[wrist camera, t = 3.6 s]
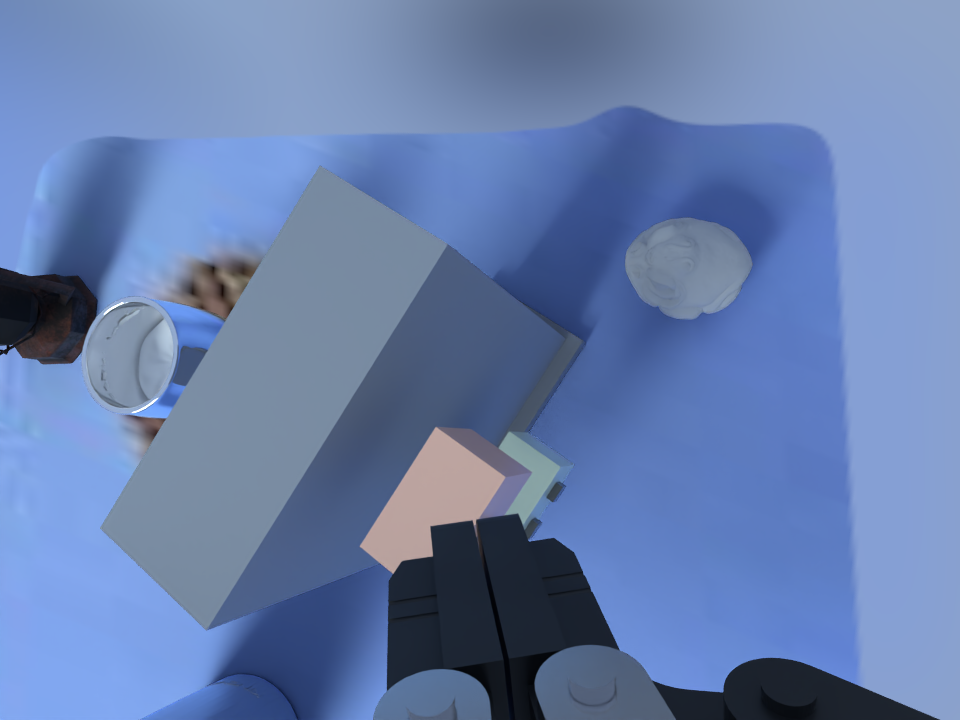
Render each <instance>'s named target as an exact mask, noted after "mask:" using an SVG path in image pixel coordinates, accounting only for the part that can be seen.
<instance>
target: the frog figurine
mask: <svg viewBox="0 0 960 720" xmlns="http://www.w3.org/2000/svg"><path fill="white" fill-rule="evenodd" d="M752 265H753V263H752V260H751V256H750V254H749V252H748V250H747V248H746V247H745V245H744V244H743V243H742V241H741V240H740V239H739V238H738V236H737V235H736V234H735V233H734V232H733V231H731V230H730V229H728V228H726V227H724V226H721V225H719V224H718V223H714V222H708V221H704V220H697V219H695V218H689V217H686V218H678V219H669V220H666V221H663V222H660V223H657V224H655V225H653V226H652V227H650V228H649V229H648V230H645V231H643V232H642V233H641V234H639V235H638V236H637V238H636V239H635V240H634V241H633V242H632V244H631V245H630V246H629V248H628V250H627V252H626V256H625V268H626V273H627V276H628V278H629V279H630V281H631V283H632V285H633V287H634V289H635V290H636V292H637V294H638V295H639V297H640V298H641V299H642V300H643V301H644V302H645V303H647V304H649V305H651V306H652V307H657V306H659V309H660V311H661V312H662V313H664V314H665V315H667V316H669V317H672V318H676V319H689V320H691V319H695V318H697V317H698V316H699V315H700V314H701V313H703V312H705V313H707V314H711V313H716V312H718V311H720V310H722V309H724V308H726V307H727V306H729V305H730V304H731V303H732V302H733V301H734V300H735V299H736V297H737V296H738V294H739V292H740V291H741V287H742V285H741V284H742V283H743V282H744V281H745V280H746V278H747V277H748V275H749V273H750V271H751V268H752Z"/></svg>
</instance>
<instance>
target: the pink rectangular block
mask: <svg viewBox="0 0 960 720" xmlns="http://www.w3.org/2000/svg"><path fill="white" fill-rule="evenodd" d="M531 474H532V472H531V471H530V470H528V469H527V468H526V467H524V466H523V465H521V464H520V463H518V462H517V461H516V460H514V459H513V458H511V457H510V456H509V455H507V454H506V453H504V452H503V451H502V450H500V449H499V448H497V447H496V446H494V445H493V444H492V443H490V442H489V441H487V440H486V439H485V438H483V437H482V436H480V435H479V434H478V433H476V432H475V431H473V430H472V429H463V428H447V427H435V429H434V431H433V432H432V434H431V435H430V437H429V438H428V440H427V442H426V443H425V445H424V446H423V448H422V449H421V451H420V452H419V454H418V456H417V457H416V459H415V460H414V462H413V463H412V465H411V467H410V468H409V470H408V471H407V473H406V474H405V476H404V478H403V479H402V481H401V482H400V484H399V485H398V487H397V489H396V490H395V492H394V493H393V495H392V496H391V498H390V500H389V501H388V503H387V504H386V506H385V507H384V509H383V511H382V512H381V514H380V515H379V517H378V518H377V520H376V522H375V523H374V525H373V526H372V528H371V529H370V531H369V533H368V534H367V536H366V537H365V539H364V540H363V542H362V544H361V545H360V547H361V548H362V549H363V550H365V551H366V552H367V553H368V554H370V555H371V556H372V557H373V558H374V559H376V560H377V561H378V562H379V563H380V564H382V565H383V566H384V567H385V568H386V569H388V570H389V571H390V572H391V573H393V574H394V572H395V571H396V569H397V568H398V566H399V565H400V563H401V562H402V561H404V560H411V559H418V558H424V557H431V556H433V551H432V540H431V530H430V526H435V525H442V524H449V523H456V522H463V521H470V520H473V524H474V528H475V533H476V537H477V530H476V519H482V518H489V517H496V516H503V515H505V514H506V512H507V511H508V509H509V508H510V506H511V505H512V503H513V502H514V500H515V498H516V497H517V495H518V494H519V492H520V491H521V489H522V488H523V486H524V485H525V483H526V482H527V480H528V479H529V477H530V475H531ZM477 542H478V540H477Z"/></svg>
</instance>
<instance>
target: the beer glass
mask: <svg viewBox="0 0 960 720" xmlns="http://www.w3.org/2000/svg"><path fill="white" fill-rule="evenodd" d="M225 321H226V318H224V317H222V316H220V315H218V314H215V313H213V312H210V311H207V310H203V309H200V308H197V307H193V306H189V305H184V304H180V303H174V302H168V301H162V300H154V299H149V298H146V297H141V296H130V297H125V298H121V299H119V300H117V301H115V302H113V303H111V304H110V305H108V306H107V307H106V308H105V309H103V310H102V311H101V312H100V313H99V314H98V316H97V317H96V318H95V320H94V321H93V323H92V324H91V326H90V328H89V330H88V332H87V334H86V337H85V340H84V344H83V348H82V356H81V367H82V374H83V379H84V382H85V385H86V387H87V389H88V391H89V393H90V395H91V396H92V398H93V399H94V400H95V401H96V402H97V403H98V404H99V405H100V406H101V407H103V408H104V409H106V410H108V411H110V412H113V413H117V414H128V415H135V416H140V417H147V418H154V419H163V420H166V418H167V417H168V415H169V414H170V412H171V410H172V409H173V407H174V405H175V404H176V402H177V400H178V399H179V397H180V395H181V394H182V392H183V390H184V389H185V387H186V385H187V384H188V382H189V381H190V379H191V377H192V376H193V374H194V372H195V371H196V369H197V367H198V366H199V364H200V362H201V361H202V359H203V357H204V356H205V354H206V352H207V351H208V349H209V348H210V346H211V344H212V343H213V341H214V339H215V338H216V336H217V334H218V333H219V331H220V329H221V328H222V326H223V324H224V323H225Z"/></svg>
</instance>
